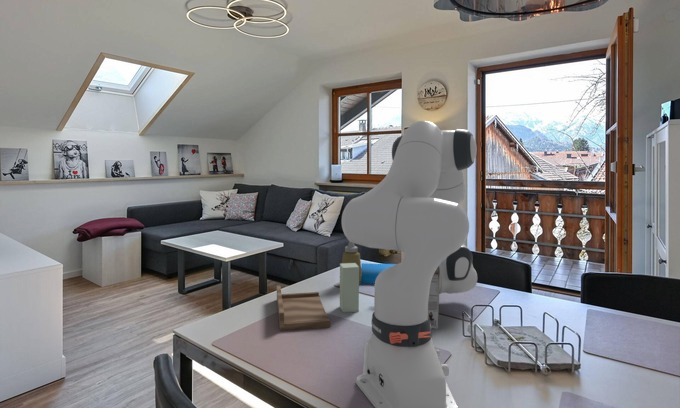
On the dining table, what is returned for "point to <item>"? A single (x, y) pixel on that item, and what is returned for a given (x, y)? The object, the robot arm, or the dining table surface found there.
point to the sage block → (349, 287)
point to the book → (372, 271)
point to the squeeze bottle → (352, 256)
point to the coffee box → (434, 299)
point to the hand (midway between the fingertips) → (385, 283)
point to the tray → (300, 311)
